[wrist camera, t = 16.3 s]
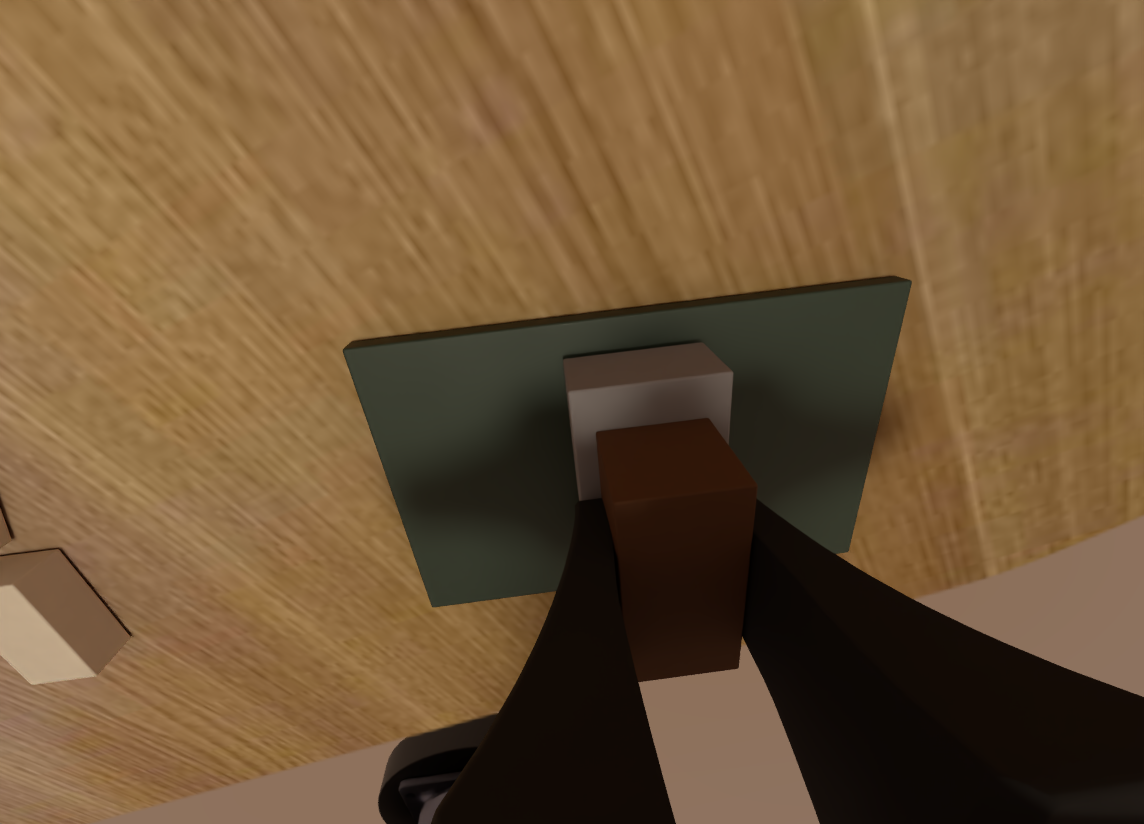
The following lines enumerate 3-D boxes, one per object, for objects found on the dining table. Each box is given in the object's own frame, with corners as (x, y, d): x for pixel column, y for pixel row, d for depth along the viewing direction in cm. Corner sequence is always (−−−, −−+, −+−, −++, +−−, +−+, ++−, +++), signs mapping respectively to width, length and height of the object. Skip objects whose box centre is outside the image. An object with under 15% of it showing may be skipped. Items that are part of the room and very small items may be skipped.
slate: (838, 540, 16) (848, 552, 15) (435, 593, 16) (431, 608, 15) (896, 275, 12) (913, 280, 11) (349, 341, 11) (340, 349, 11)
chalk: (131, 636, 15) (96, 677, 14) (71, 644, 15) (31, 685, 14) (59, 548, 14) (11, 585, 12) (-9, 556, 14) (-65, 595, 12)
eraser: (696, 552, 15) (757, 693, 11) (586, 566, 14) (607, 714, 10) (702, 341, 11) (795, 430, 7) (562, 358, 11) (578, 457, 7)
